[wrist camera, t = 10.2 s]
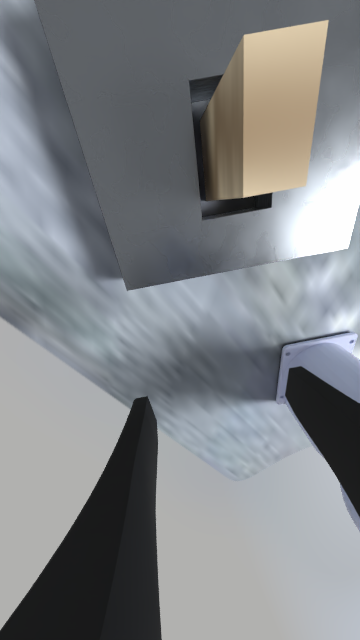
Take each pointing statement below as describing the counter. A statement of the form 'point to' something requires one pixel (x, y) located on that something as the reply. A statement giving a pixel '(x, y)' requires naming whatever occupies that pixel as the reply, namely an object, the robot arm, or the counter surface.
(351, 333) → the robot arm
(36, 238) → the counter surface
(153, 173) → the gray slab with hole
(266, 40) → the tan wooden beam
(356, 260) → the counter surface
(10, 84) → the counter surface
